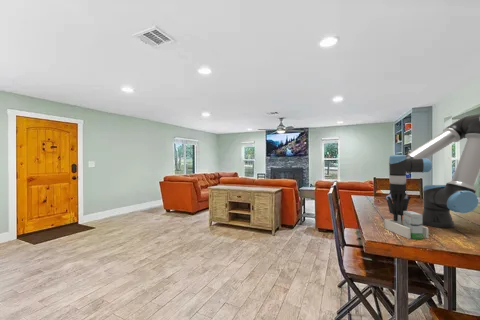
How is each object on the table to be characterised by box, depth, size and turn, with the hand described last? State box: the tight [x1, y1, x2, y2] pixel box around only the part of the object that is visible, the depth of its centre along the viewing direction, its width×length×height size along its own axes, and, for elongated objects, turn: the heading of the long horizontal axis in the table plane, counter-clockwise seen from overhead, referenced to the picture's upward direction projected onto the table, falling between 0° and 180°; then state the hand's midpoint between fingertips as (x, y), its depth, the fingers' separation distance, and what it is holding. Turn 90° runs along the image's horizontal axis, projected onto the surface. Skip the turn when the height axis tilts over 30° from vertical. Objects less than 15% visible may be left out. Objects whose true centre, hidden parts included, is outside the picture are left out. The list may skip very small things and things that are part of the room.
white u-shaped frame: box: [383, 218, 429, 240], centre depth 120 cm, size 10×18×5 cm, turn 3°
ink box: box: [402, 210, 424, 240], centre depth 115 cm, size 9×5×12 cm, turn 168°
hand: (397, 226), depth 125 cm, fingers closed
